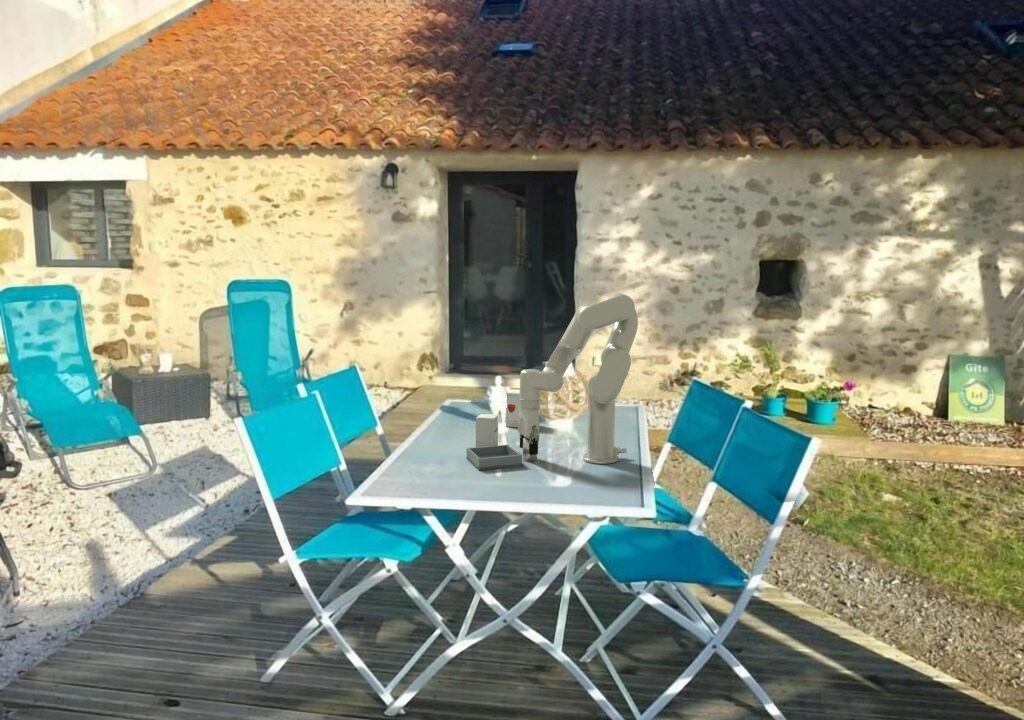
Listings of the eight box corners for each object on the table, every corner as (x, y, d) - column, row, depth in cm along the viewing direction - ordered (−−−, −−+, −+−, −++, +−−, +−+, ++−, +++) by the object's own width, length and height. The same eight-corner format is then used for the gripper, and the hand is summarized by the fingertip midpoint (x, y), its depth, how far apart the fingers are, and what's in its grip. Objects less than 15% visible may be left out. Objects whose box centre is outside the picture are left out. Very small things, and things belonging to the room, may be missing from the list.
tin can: (534, 457, 278) (534, 435, 277) (539, 461, 273) (539, 439, 272) (520, 458, 276) (520, 436, 275) (525, 462, 272) (525, 440, 270)
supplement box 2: (505, 427, 326) (505, 392, 324) (510, 422, 334) (510, 388, 332) (525, 428, 324) (526, 393, 321) (530, 423, 332) (530, 389, 330)
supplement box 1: (494, 451, 286) (494, 418, 284) (475, 450, 287) (474, 417, 286) (498, 446, 293) (498, 414, 291) (479, 445, 295) (479, 413, 293)
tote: (507, 455, 281) (507, 444, 280) (522, 466, 266) (522, 455, 266) (466, 458, 276) (466, 448, 275) (478, 470, 261) (478, 459, 261)
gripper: (512, 400, 279) (510, 445, 281) (528, 409, 263) (527, 458, 265) (531, 399, 281) (530, 444, 284) (548, 408, 265) (547, 456, 267)
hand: (528, 451), depth 274 cm, fingers open, 9 cm apart
